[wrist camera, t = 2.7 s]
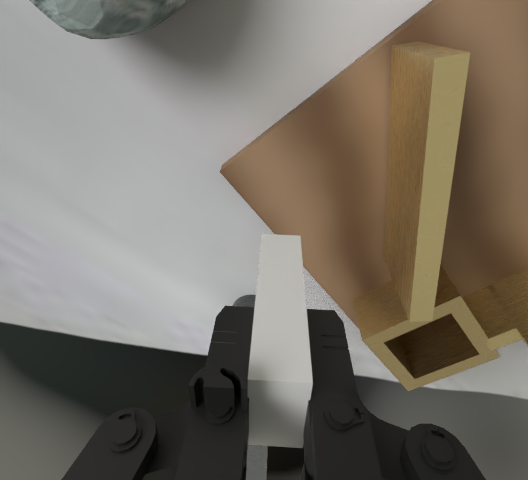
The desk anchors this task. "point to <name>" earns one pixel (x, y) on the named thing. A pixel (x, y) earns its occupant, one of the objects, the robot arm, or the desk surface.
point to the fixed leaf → (443, 328)
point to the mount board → (376, 154)
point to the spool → (107, 15)
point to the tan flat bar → (421, 167)
